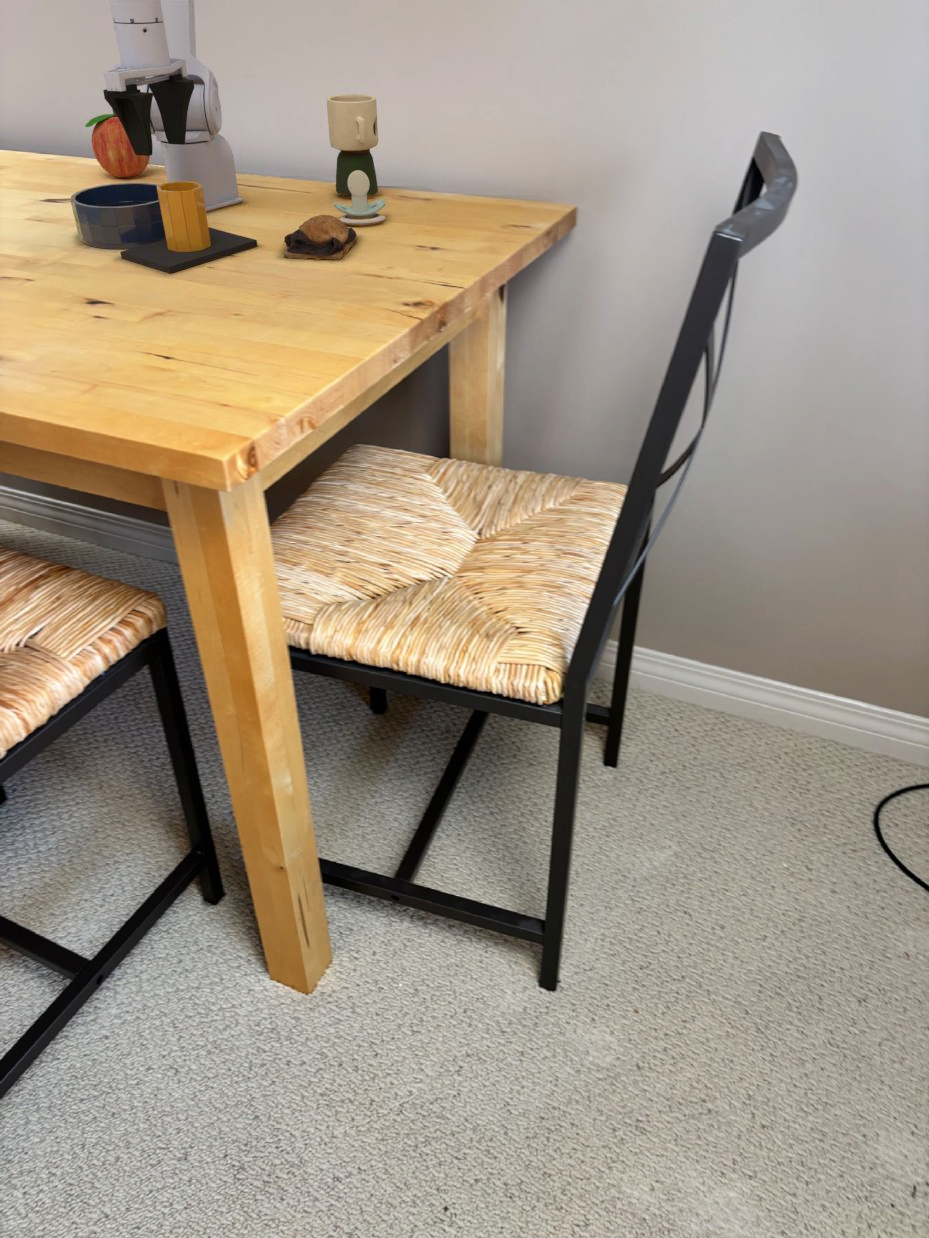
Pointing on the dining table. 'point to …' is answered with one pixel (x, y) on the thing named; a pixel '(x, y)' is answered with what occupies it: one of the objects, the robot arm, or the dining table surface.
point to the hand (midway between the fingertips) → (160, 149)
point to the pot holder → (175, 261)
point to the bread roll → (320, 239)
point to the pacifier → (360, 202)
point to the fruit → (115, 147)
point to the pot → (118, 215)
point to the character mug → (353, 137)
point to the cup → (184, 216)
